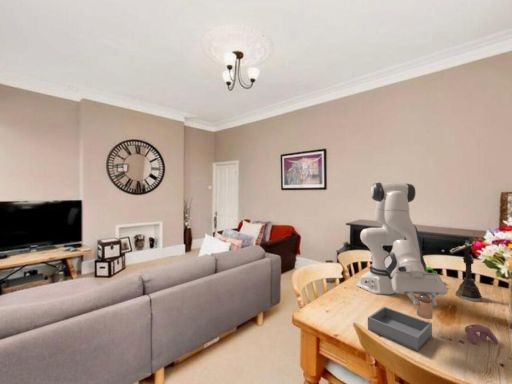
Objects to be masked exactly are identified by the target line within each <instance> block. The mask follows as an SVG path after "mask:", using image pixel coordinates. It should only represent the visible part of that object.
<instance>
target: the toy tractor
mask: <svg viewBox="0 0 512 384" xmlns="http://www.w3.org/2000/svg"><path fill="white" fill-rule="evenodd" d="M426 268H427V269H426V273H436V274H437V275H438V271H436V270H434V268H432V267H431V266H426Z"/></svg>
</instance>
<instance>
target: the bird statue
mask: <svg viewBox="0 0 512 384" xmlns="http://www.w3.org/2000/svg"><path fill="white" fill-rule="evenodd" d="M474 240H475V238H474V237H471V238H469V239H468V242H467V241H465V243H464V244H463V245H462V246H460V245H459V246H457V247H455V248H452V249H450V250H449V256H452V255H453V254H456V253H458V252H460V251H463V254H464V256H463V257H462V260H463V263H464V264H465V270H464V271H465V277H463V281H462V282H461V283H460V285H459V287H458V289H457V290H456V291H455V296H456V297H458V298H460V299H461V300H466V301H469V302H479V303H480V302H482V300H483V296H482V294H481V292H480V288H478V286H477V284H476V282H475V279H473V278H472V272H473V270H472V265H473V264H474V261H475V259H474V258H473V255H472V254H471V253H470V251H471V250H473V249H471V246H472V243H473V242H474ZM473 244H474V243H473Z"/></svg>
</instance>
